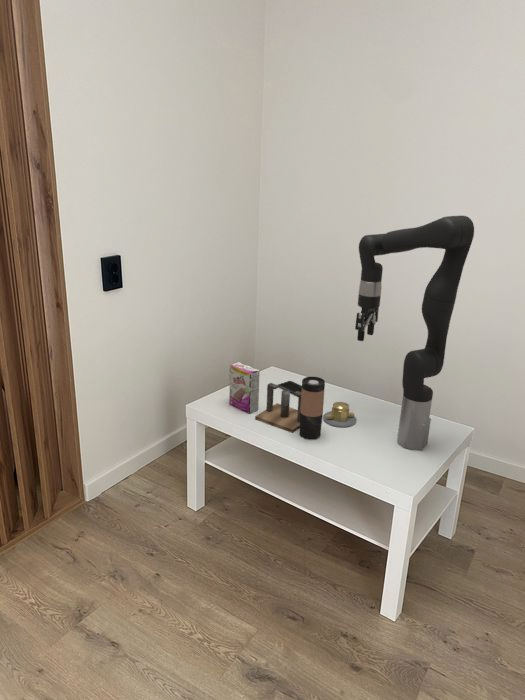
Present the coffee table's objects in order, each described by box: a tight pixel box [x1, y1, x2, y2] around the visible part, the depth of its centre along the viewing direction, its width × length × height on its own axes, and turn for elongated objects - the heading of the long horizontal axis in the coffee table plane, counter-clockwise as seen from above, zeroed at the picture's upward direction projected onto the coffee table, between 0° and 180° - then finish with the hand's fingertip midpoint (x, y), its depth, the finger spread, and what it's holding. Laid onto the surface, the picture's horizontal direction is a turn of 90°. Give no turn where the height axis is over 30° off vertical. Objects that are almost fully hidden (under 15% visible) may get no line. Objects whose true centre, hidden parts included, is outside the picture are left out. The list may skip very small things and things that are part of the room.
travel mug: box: [299, 376, 326, 440], centre depth 185 cm, size 8×8×20 cm
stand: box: [254, 382, 301, 433], centre depth 197 cm, size 16×14×12 cm
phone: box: [277, 380, 302, 396], centre depth 223 cm, size 8×1×15 cm
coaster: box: [322, 410, 357, 429], centre depth 200 cm, size 12×12×1 cm
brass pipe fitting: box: [326, 401, 355, 422], centre depth 198 cm, size 11×6×5 cm, turn 105°
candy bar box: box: [228, 361, 260, 415], centre depth 204 cm, size 11×5×16 cm, turn 46°
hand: (365, 337), depth 195 cm, fingers open, 8 cm apart
